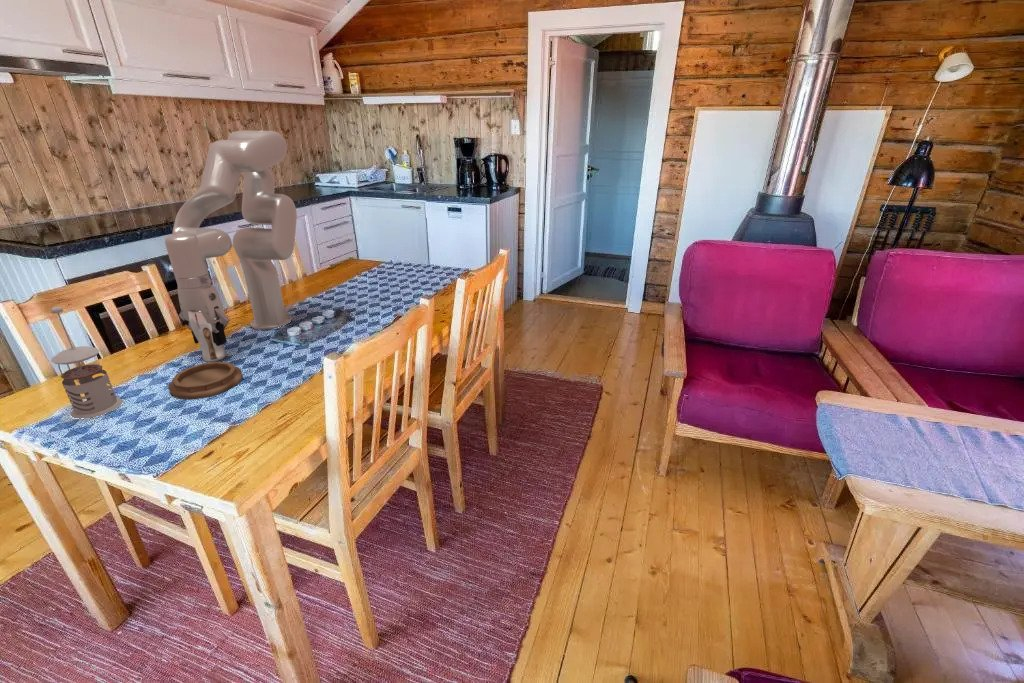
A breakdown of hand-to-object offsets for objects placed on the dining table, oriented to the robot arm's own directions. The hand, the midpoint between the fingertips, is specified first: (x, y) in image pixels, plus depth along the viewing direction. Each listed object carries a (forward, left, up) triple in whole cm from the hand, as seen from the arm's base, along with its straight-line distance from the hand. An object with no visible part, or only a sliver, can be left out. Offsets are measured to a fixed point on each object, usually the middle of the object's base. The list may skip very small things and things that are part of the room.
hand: (210, 342), depth 132 cm
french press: (+29, -6, -5) cm, 30 cm away
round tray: (+13, +10, -5) cm, 17 cm away
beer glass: (0, 0, -5) cm, 5 cm away
